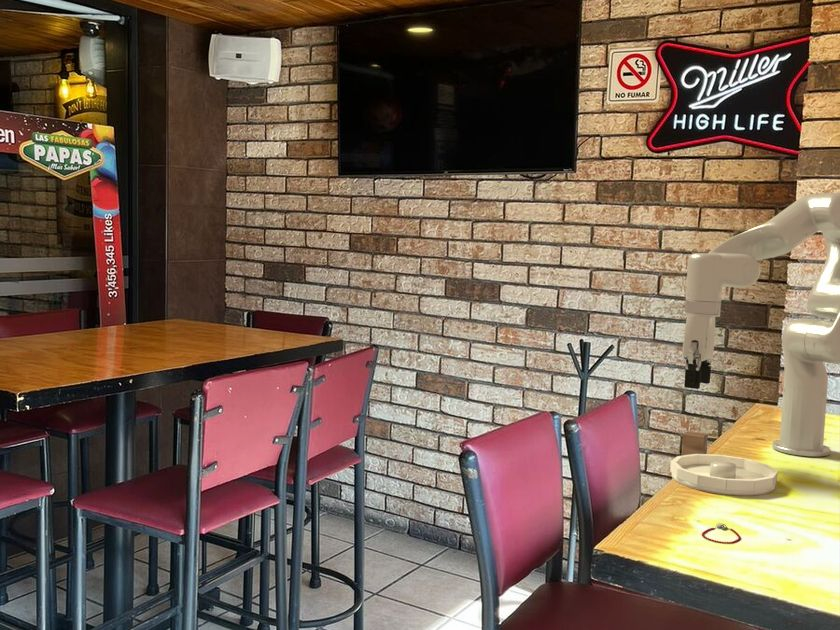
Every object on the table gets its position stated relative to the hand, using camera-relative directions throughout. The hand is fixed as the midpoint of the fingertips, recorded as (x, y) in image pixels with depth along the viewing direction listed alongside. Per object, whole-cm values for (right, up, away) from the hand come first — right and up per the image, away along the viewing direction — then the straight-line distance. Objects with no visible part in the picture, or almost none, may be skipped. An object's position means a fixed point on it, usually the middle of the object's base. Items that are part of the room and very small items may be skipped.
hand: (697, 385), depth 187 cm
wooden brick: (0, -17, +2) cm, 17 cm away
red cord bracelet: (-12, -21, -47) cm, 53 cm away
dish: (0, -18, -15) cm, 24 cm away
